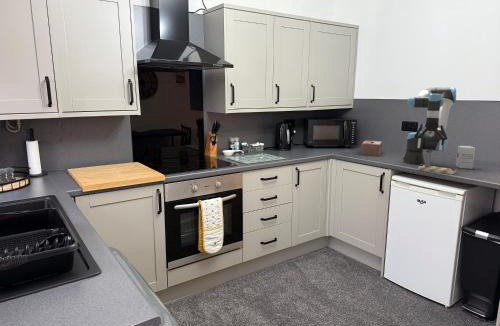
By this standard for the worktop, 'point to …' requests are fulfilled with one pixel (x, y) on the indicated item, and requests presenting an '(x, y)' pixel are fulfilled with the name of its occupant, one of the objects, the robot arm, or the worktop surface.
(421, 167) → the tan flat oblong piece
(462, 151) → the supplement box
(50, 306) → the worktop surface
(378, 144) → the tissue box cover
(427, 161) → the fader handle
